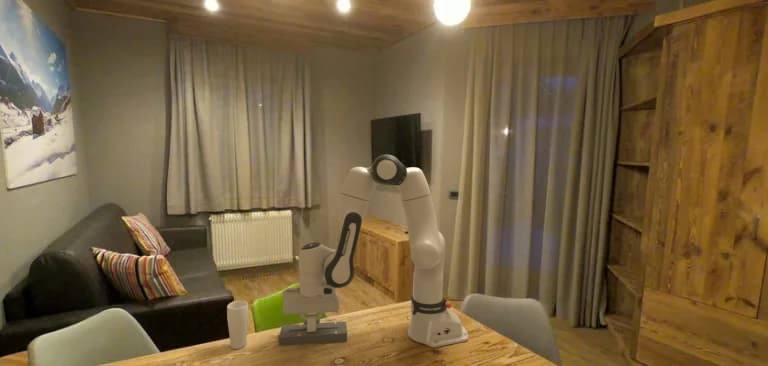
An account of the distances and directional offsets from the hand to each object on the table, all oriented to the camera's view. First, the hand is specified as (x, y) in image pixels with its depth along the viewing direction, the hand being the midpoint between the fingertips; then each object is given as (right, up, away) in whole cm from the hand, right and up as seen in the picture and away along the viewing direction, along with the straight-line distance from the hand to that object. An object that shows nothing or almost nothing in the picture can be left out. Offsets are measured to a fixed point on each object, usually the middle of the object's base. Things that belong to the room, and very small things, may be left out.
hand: (311, 323), depth 133 cm
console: (+1, -5, +1) cm, 5 cm away
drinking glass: (-25, -6, -6) cm, 26 cm away
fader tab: (0, -2, 0) cm, 2 cm away
